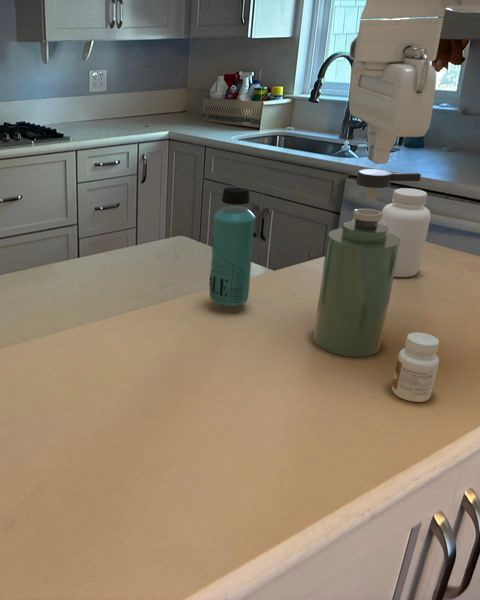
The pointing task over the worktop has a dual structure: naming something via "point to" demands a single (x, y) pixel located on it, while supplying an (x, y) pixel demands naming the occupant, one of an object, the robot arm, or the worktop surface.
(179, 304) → the worktop surface
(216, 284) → the beverage bottle
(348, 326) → the dispenser
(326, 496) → the worktop surface
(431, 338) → the pill bottle
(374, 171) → the pump head
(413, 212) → the pill bottle
